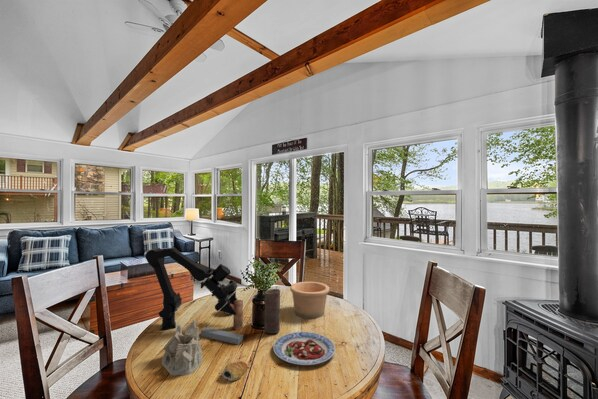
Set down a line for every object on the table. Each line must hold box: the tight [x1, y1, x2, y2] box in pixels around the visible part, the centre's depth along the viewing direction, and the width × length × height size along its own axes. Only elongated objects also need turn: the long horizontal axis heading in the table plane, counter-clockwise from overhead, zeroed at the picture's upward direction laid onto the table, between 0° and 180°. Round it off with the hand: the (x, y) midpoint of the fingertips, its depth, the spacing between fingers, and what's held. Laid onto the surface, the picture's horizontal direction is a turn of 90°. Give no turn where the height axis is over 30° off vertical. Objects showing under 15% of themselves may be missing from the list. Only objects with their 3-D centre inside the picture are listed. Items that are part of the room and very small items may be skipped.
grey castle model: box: [161, 319, 203, 377], centre depth 106 cm, size 16×16×15 cm
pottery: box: [289, 281, 330, 320], centre depth 156 cm, size 22×22×14 cm
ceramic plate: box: [272, 331, 336, 366], centre depth 116 cm, size 26×26×3 cm
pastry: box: [221, 361, 248, 382], centre depth 100 cm, size 9×7×4 cm
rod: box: [232, 299, 244, 331], centre depth 136 cm, size 4×4×13 cm
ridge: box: [200, 327, 244, 345], centre depth 125 cm, size 20×4×2 cm, turn 69°
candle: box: [263, 288, 281, 334], centre depth 132 cm, size 8×7×20 cm
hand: (237, 310), depth 136 cm, fingers open, 9 cm apart
